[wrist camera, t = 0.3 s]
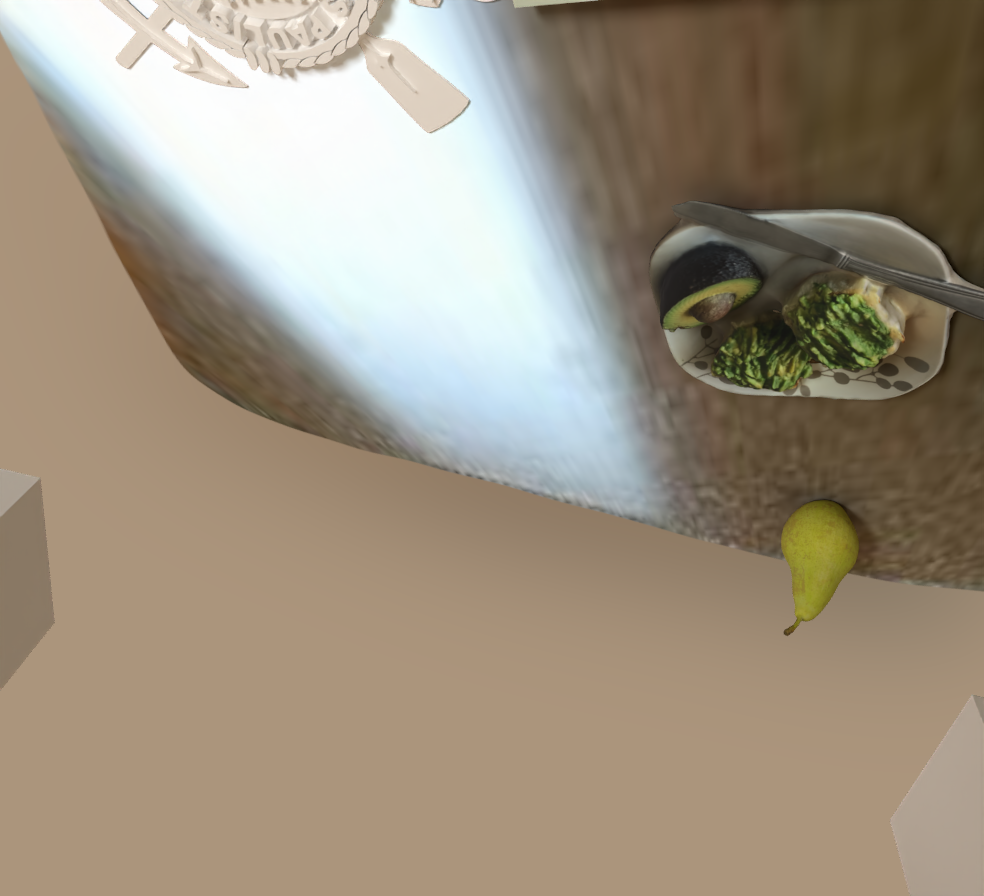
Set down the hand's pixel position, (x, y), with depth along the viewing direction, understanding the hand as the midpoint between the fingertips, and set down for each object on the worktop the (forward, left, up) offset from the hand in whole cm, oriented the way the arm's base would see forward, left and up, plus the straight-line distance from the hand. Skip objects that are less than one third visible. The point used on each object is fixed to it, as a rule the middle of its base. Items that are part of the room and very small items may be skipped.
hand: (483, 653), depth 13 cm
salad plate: (+32, -2, -35) cm, 48 cm away
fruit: (+57, 0, -34) cm, 67 cm away
